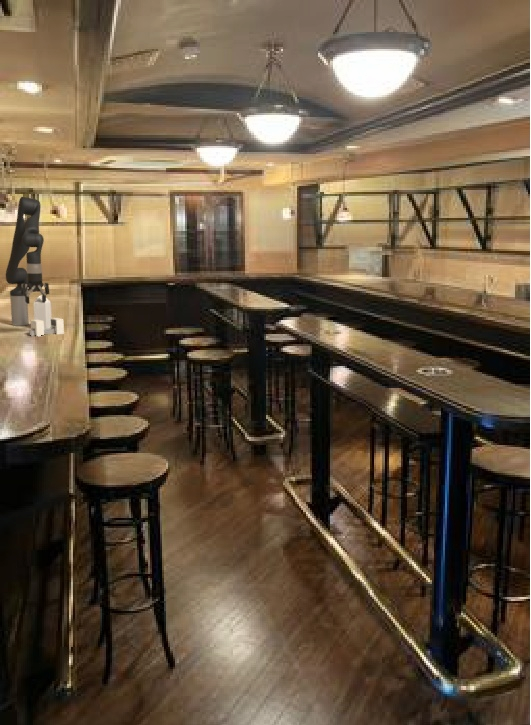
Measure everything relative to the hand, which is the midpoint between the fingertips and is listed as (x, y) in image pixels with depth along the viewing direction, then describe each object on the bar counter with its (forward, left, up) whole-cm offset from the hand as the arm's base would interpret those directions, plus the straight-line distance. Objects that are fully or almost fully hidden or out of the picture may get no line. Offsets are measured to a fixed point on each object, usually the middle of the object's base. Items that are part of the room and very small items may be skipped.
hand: (35, 303), depth 329 cm
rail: (0, +5, -17) cm, 18 cm away
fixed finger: (0, +11, -17) cm, 21 cm away
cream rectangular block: (0, 0, -17) cm, 17 cm away
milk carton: (-20, +12, -18) cm, 29 cm away
